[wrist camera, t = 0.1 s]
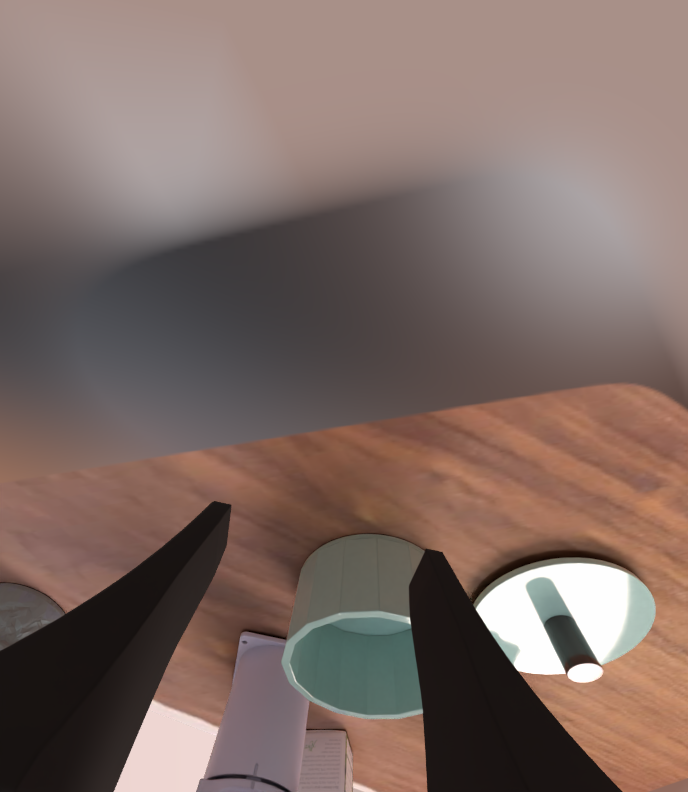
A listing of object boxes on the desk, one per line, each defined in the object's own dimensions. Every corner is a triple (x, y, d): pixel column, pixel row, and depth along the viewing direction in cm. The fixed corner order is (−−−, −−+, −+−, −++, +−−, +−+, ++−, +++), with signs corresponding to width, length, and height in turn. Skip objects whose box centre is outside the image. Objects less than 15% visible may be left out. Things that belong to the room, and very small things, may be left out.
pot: (418, 645, 30) (429, 732, 24) (288, 617, 29) (270, 700, 24) (468, 553, 25) (497, 636, 20) (314, 518, 25) (299, 593, 19)
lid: (586, 673, 30) (621, 737, 26) (443, 642, 29) (455, 703, 25) (683, 573, 24) (746, 635, 20) (508, 532, 24) (537, 588, 20)
